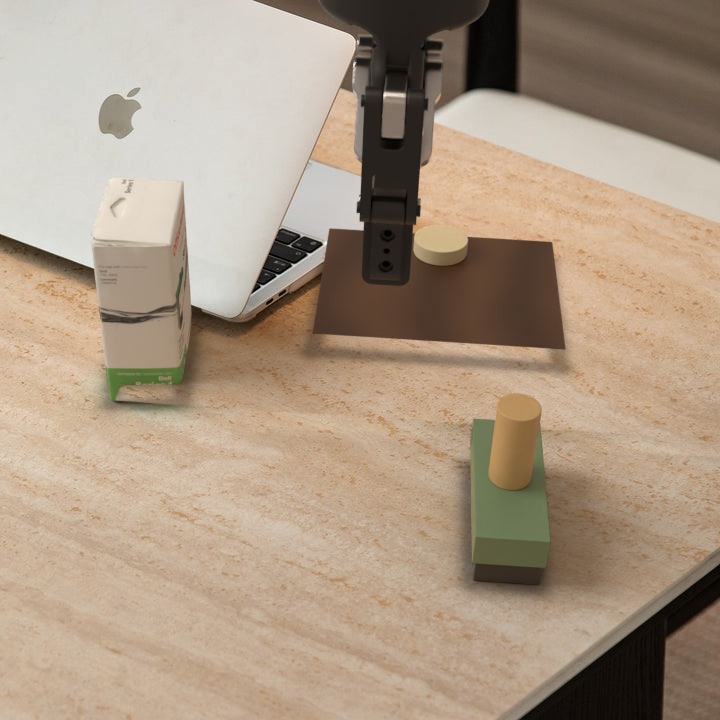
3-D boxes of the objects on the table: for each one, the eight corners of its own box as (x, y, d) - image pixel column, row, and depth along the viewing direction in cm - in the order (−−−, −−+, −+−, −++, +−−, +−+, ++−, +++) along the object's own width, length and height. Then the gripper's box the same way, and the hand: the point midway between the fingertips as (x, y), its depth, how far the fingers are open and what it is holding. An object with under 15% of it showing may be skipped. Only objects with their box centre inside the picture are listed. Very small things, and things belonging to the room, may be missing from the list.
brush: (467, 462, 76) (480, 349, 71) (533, 466, 76) (551, 354, 71) (469, 583, 68) (484, 465, 63) (542, 588, 68) (563, 470, 63)
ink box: (183, 403, 79) (173, 244, 72) (105, 402, 79) (87, 243, 72) (194, 326, 86) (186, 174, 79) (122, 325, 86) (108, 173, 79)
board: (549, 258, 95) (552, 241, 94) (562, 366, 84) (565, 348, 83) (328, 244, 96) (329, 227, 95) (312, 351, 84) (312, 332, 84)
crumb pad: (466, 239, 94) (468, 225, 93) (467, 267, 91) (468, 253, 90) (413, 236, 94) (415, 222, 94) (412, 264, 91) (413, 250, 90)
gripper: (504, -43, 45) (467, 321, 55) (494, -146, 57) (464, 171, 67) (300, -54, 46) (298, 311, 55) (331, -154, 57) (325, 163, 67)
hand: (389, 234), depth 61 cm, fingers open, 8 cm apart
